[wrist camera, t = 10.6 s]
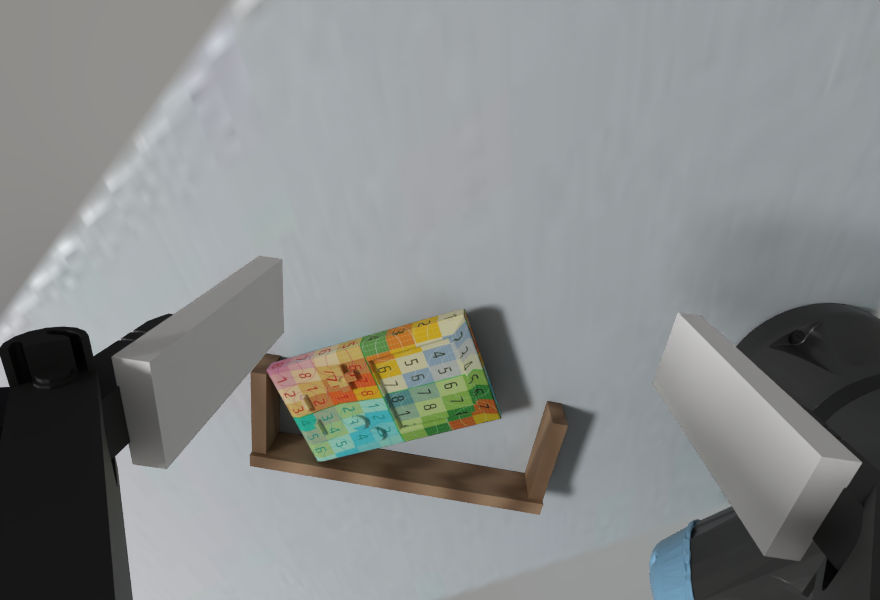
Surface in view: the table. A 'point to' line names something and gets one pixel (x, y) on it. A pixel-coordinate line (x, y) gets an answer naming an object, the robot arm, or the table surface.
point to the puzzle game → (387, 387)
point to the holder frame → (405, 459)
